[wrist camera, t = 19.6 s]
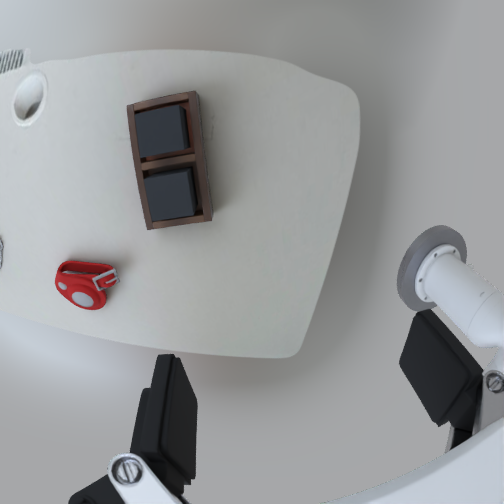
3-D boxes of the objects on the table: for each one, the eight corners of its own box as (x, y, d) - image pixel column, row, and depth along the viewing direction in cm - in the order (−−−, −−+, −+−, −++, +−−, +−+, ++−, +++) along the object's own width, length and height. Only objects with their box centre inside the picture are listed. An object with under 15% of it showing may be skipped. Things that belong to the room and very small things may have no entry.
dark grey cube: (192, 166, 32) (187, 171, 28) (198, 204, 34) (193, 215, 30) (154, 172, 32) (143, 179, 28) (161, 209, 34) (151, 221, 30)
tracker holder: (99, 321, 40) (48, 299, 35) (104, 301, 43) (56, 279, 38) (121, 284, 34) (59, 255, 29) (127, 262, 38) (69, 233, 32)
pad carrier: (198, 94, 29) (195, 90, 26) (213, 213, 36) (212, 220, 33) (134, 107, 29) (126, 105, 26) (152, 222, 35) (147, 230, 33)
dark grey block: (185, 109, 29) (179, 104, 25) (190, 147, 31) (184, 149, 27) (147, 116, 29) (134, 114, 24) (151, 154, 31) (140, 158, 26)
